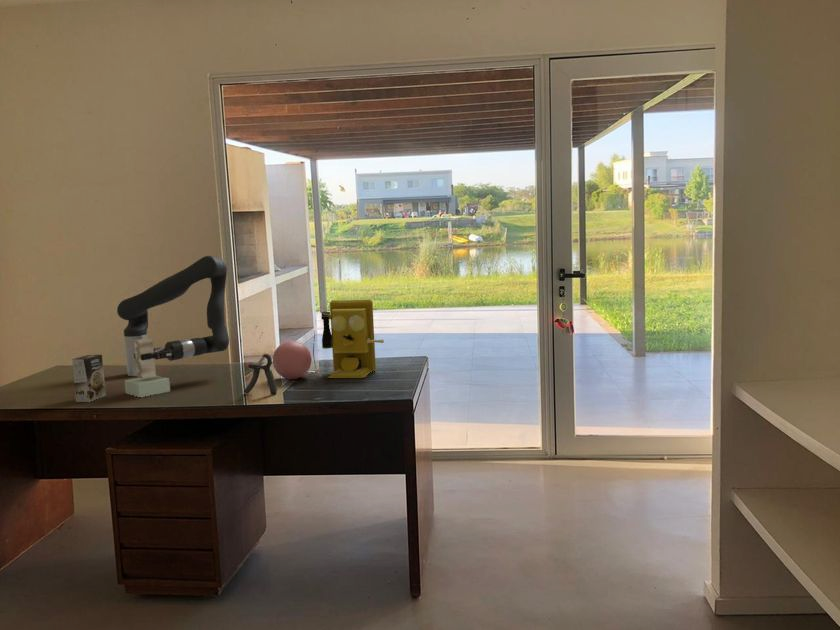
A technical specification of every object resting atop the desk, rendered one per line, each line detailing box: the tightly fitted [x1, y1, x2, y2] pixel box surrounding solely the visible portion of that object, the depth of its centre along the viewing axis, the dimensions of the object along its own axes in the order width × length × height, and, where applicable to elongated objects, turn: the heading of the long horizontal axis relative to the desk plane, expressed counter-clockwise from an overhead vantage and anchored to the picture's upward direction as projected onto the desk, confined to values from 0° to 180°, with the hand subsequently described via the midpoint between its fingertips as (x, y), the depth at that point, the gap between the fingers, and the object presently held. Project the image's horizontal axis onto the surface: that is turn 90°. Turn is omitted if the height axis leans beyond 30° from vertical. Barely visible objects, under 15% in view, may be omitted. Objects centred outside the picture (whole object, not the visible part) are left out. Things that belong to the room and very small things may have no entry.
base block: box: [124, 374, 171, 398], centre depth 268 cm, size 12×12×5 cm
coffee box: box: [71, 354, 107, 403], centre depth 260 cm, size 9×6×16 cm
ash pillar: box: [134, 338, 157, 378], centre depth 267 cm, size 5×5×14 cm
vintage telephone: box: [312, 299, 384, 379], centre depth 283 cm, size 31×14×30 cm, turn 80°
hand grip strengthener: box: [243, 353, 278, 395], centre depth 257 cm, size 2×13×15 cm, turn 78°
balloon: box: [272, 340, 313, 380], centre depth 284 cm, size 15×20×15 cm
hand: (137, 356), depth 265 cm, fingers closed on ash pillar, 5 cm apart
